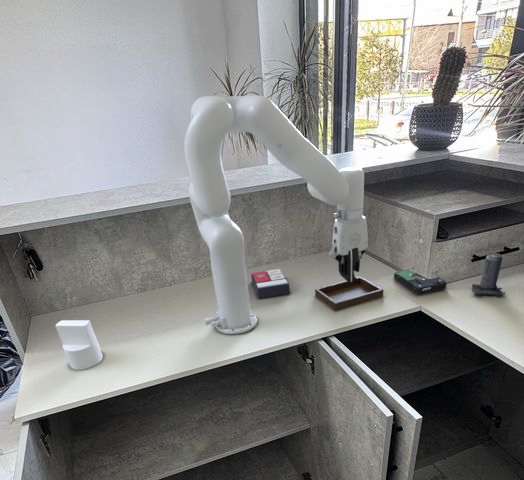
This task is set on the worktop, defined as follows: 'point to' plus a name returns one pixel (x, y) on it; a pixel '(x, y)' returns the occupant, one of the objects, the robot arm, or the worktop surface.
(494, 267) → the grey cylinder on base
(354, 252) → the battery charger
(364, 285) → the tray
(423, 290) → the disk drive
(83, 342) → the cylinder with rectangular tab
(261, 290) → the calculator
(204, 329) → the worktop surface
